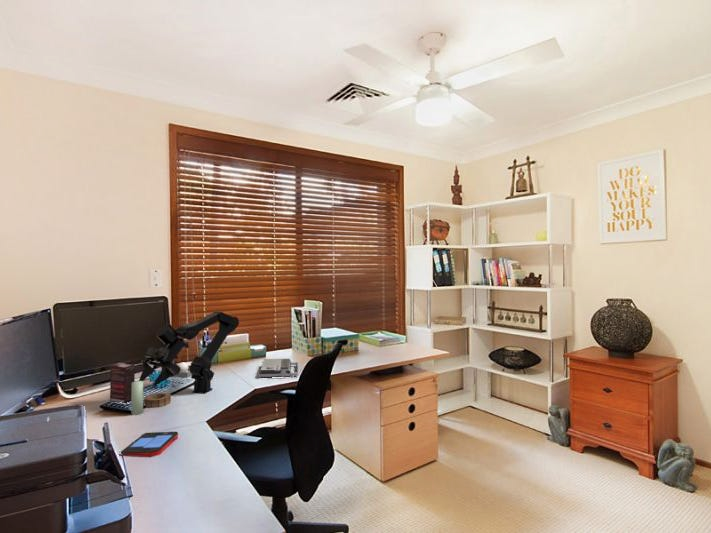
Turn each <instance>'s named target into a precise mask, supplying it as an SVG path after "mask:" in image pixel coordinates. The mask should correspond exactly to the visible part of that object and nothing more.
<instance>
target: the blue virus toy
mask: <svg viewBox="0 0 711 533" xmlns="http://www.w3.org/2000/svg"><path fill="white" fill-rule="evenodd" d="M154 370H155V371H154V372H153V373H152V374H151V375H149V376H148V378H150V379H149V382H152V384H151V386H152V385H153V384H154V382H155V380H156V379H157V377H158V376H159V374H160V373H161V369H159V370H156V369H154ZM169 382H170V380H169V379H166V380H164V381H163V382H161V383H159V384H158V385H156V388H158V387H159V388H162V387H164V386H165V385H167V386H168V385H169ZM161 386H162V387H161ZM165 387H166V386H165ZM165 387H164V388H165Z"/></svg>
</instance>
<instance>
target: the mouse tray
mask: <svg viewBox="0 0 711 533" xmlns="http://www.w3.org/2000/svg"><path fill="white" fill-rule="evenodd" d="M190 365H191V364H190ZM190 365H189V364H188V367H189V368H190ZM189 368H188V370H187V371H186V372H179V374H178V375H176V374H175V376H178V378H184V377H186V379H187V377H188V378H190V377H192V374H191V373H190V369H189Z"/></svg>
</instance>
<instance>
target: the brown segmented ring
mask: <svg viewBox="0 0 711 533" xmlns="http://www.w3.org/2000/svg"><path fill="white" fill-rule="evenodd" d="M171 398H172V395H171V393H170V392H164V391H163V392H154V393H149V394H147V395H145V397H143V405H144V404H145V408H150V409H151V408H152V409H153V408H162V407H164V406H167V405H169V404H170V403H171V401H172V399H171Z"/></svg>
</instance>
